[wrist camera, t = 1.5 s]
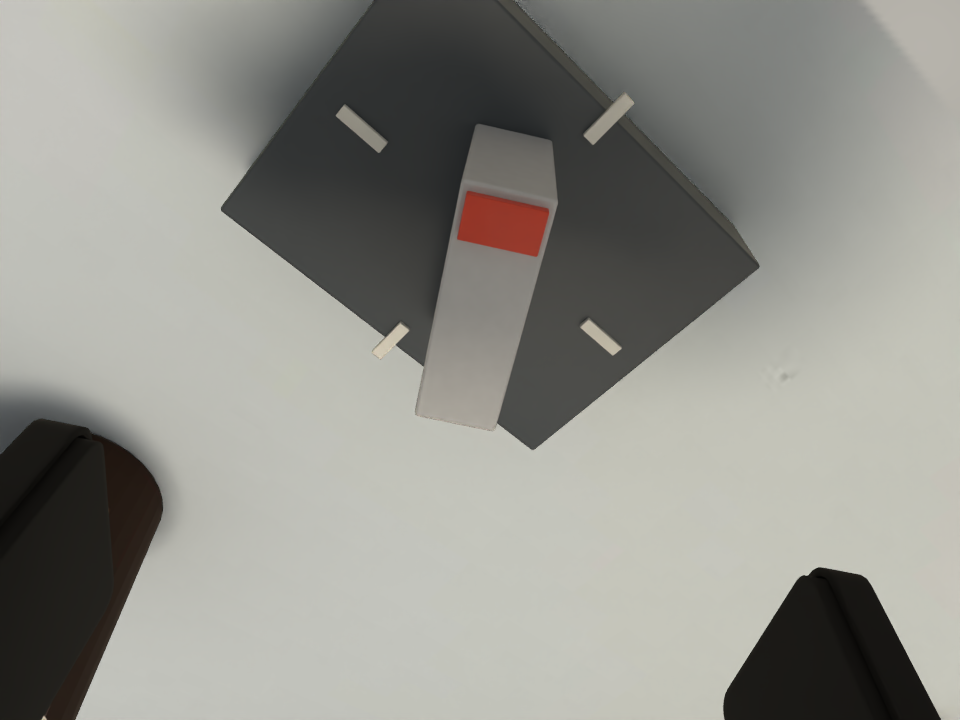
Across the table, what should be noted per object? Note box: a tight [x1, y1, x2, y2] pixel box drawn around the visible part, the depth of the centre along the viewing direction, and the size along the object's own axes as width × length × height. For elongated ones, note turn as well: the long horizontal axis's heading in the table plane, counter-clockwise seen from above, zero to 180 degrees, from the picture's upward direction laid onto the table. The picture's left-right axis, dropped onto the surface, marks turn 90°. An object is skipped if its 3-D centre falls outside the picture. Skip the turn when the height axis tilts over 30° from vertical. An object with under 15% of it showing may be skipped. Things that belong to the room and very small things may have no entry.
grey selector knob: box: [415, 124, 558, 431], centre depth 18 cm, size 6×2×5 cm, turn 168°
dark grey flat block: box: [221, 0, 759, 450], centre depth 21 cm, size 12×10×3 cm
